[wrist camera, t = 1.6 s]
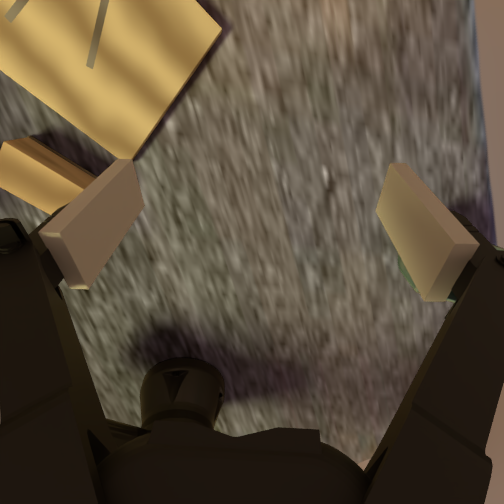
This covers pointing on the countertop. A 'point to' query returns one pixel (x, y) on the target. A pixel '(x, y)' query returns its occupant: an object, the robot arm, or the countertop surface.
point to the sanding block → (41, 174)
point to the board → (106, 60)
